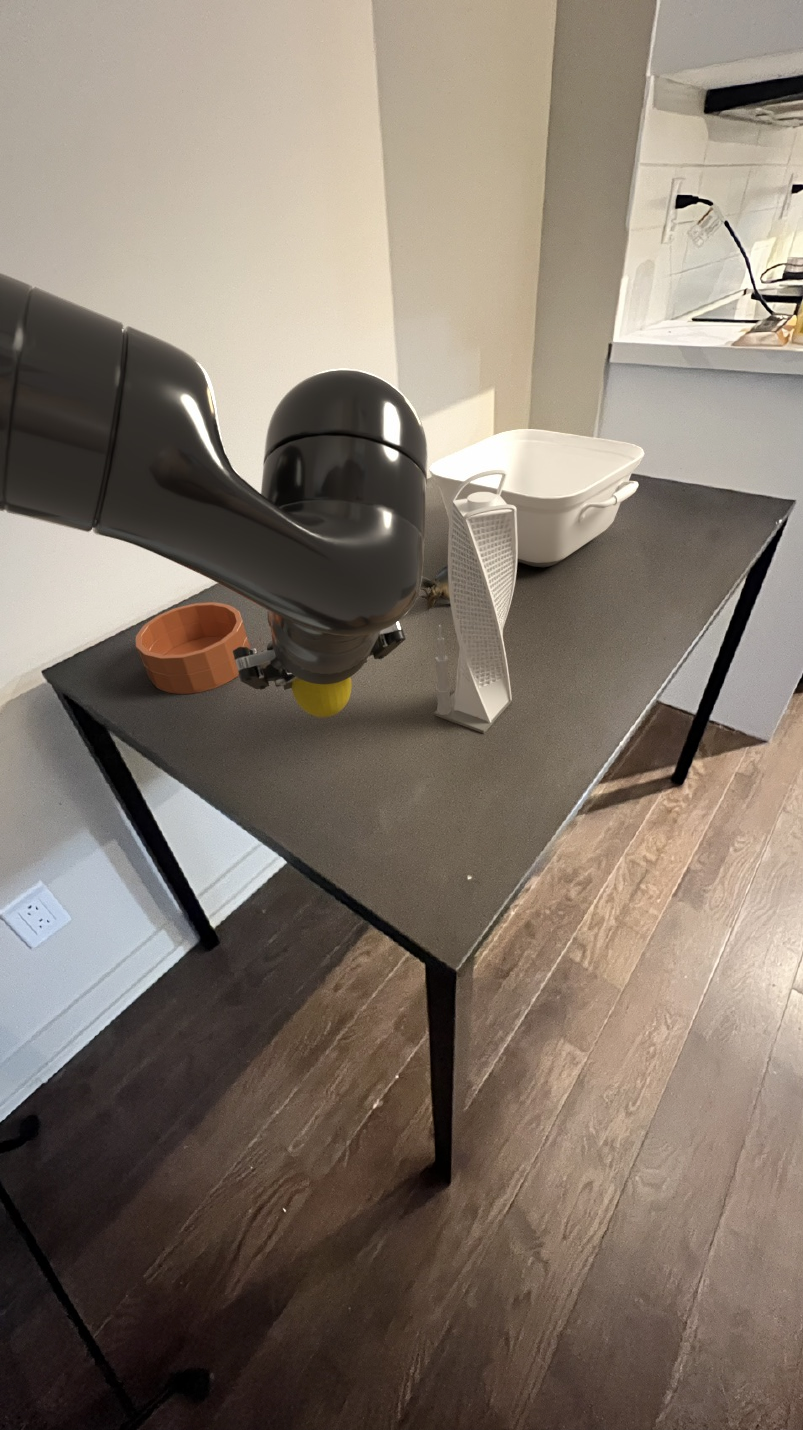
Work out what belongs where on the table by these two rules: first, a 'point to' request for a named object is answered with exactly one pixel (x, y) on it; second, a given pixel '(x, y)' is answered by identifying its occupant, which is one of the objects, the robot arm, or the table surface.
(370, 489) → the robot arm
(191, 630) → the bowl
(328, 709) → the lemon
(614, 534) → the table surface
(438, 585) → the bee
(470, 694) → the white tall perforated tower
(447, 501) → the white tub with handles
